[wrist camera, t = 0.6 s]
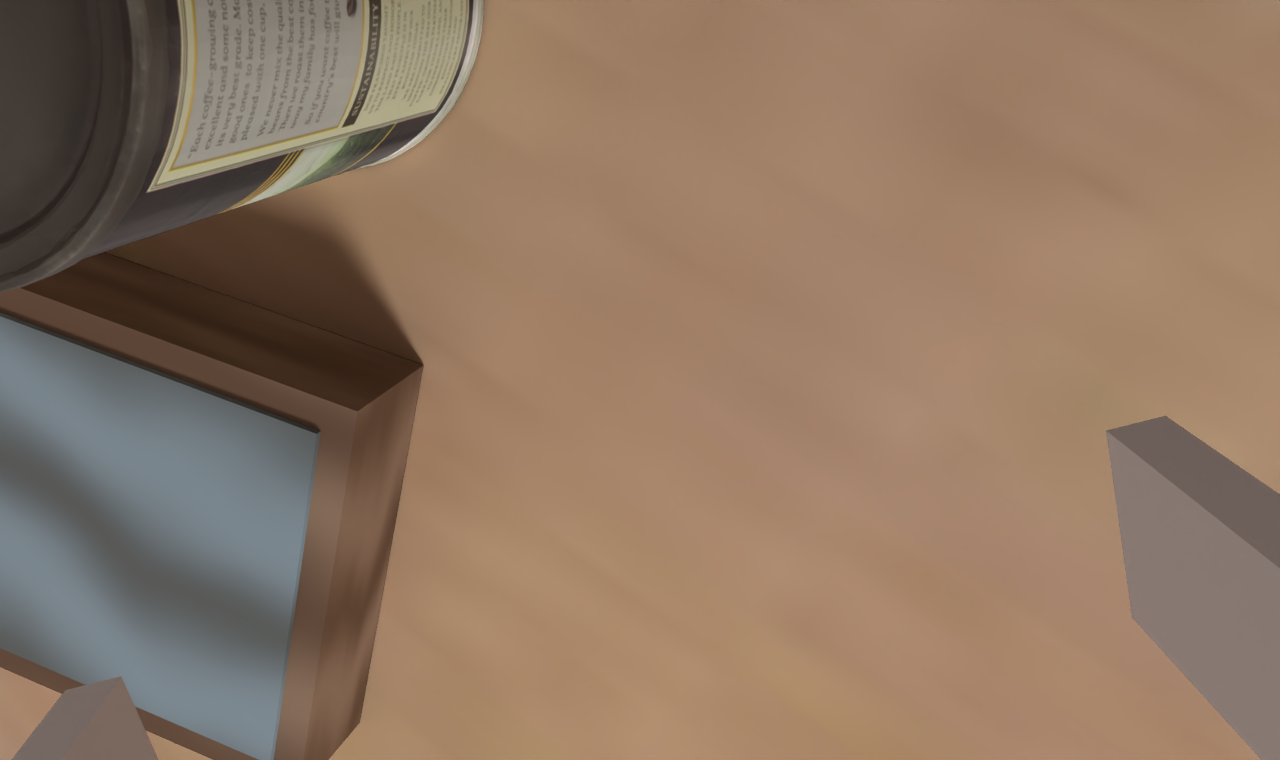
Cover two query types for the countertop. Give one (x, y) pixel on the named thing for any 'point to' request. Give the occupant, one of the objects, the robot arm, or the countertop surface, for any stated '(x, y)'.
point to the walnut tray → (196, 506)
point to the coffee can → (203, 109)
